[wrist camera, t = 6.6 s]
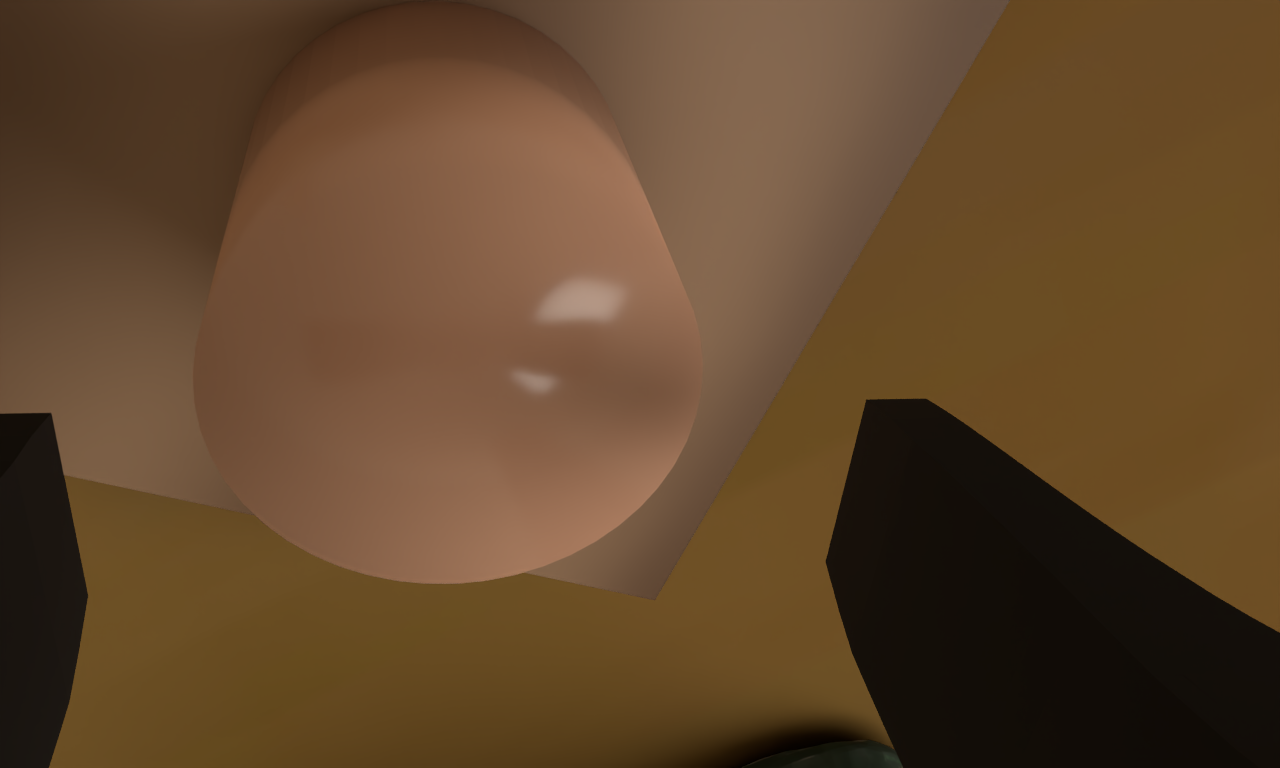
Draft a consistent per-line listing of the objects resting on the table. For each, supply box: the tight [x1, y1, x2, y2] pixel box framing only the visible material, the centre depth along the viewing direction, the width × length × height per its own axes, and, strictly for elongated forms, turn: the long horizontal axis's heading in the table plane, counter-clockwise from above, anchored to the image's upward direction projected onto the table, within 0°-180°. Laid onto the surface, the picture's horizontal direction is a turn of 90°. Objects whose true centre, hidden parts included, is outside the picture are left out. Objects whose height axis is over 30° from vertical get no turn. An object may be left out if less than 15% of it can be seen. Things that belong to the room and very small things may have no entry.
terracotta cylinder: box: [193, 1, 703, 584], centre depth 14 cm, size 5×5×5 cm
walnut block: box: [0, 0, 1010, 600], centre depth 18 cm, size 12×12×4 cm
